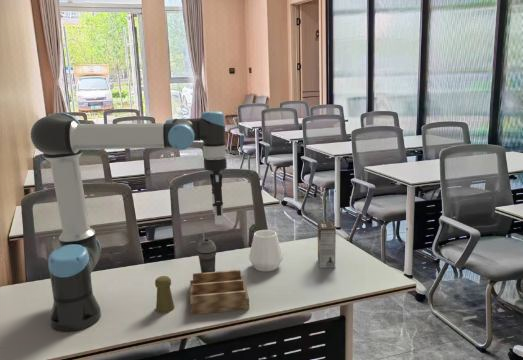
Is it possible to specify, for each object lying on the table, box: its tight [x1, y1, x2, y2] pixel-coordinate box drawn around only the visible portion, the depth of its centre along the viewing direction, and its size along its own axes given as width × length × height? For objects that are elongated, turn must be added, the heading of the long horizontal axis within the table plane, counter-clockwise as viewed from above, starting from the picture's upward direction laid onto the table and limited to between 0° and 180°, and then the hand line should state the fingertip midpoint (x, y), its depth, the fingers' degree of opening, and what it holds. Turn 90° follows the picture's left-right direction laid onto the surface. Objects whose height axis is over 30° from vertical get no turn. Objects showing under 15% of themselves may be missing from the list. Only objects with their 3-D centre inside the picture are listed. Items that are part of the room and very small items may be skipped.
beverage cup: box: [196, 228, 217, 273], centre depth 181 cm, size 7×7×20 cm
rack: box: [189, 269, 250, 315], centre depth 167 cm, size 19×18×6 cm
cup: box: [248, 229, 284, 272], centre depth 191 cm, size 13×13×14 cm
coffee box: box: [317, 221, 337, 269], centre depth 192 cm, size 9×6×16 cm
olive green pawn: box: [154, 275, 175, 314], centre depth 161 cm, size 6×6×11 cm
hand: (218, 218), depth 169 cm, fingers open, 13 cm apart
